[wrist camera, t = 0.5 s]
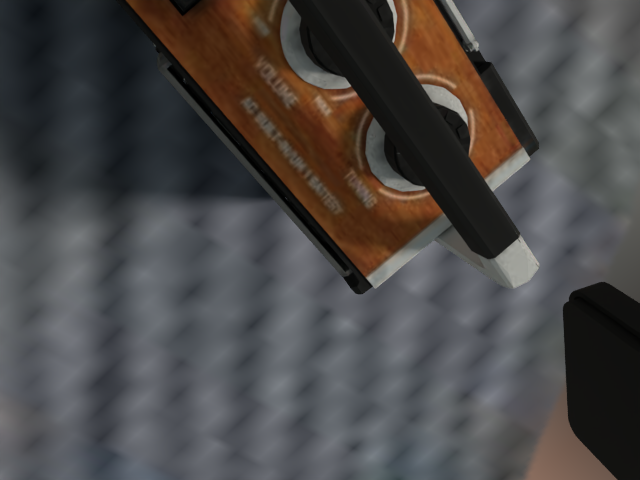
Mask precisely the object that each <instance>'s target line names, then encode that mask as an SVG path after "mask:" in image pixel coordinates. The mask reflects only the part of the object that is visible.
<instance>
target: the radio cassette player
mask: <svg viewBox="0 0 640 480" xmlns="http://www.w3.org/2000/svg"><path fill="white" fill-rule="evenodd" d="M116 1H117V2H118V3H119V4H120V6H121V7H122V8H123V9H124V10H125V11H126V12H127V14H128V15H129V16H130V17H131V18H132V19H133V20H134V22H135V23H136V24H137V25H138V26H139V27H140V28H141V30H142V31H143V32H144V33H145V34H146V35H147V36H148V38H149V39H150V40H151V41H152V42H153V45H154V46H155V47H156V51H157V52H158V53H159V55H158V58H157V65H158V70H159V71H160V72H161V73H162V74H163V75H164V76H165V78H166V79H167V80H168V81H169V82H170V83H171V84H172V85H173V87H174V88H175V89H176V90H177V91H178V92H179V93H180V94H181V96H182V97H183V98H184V99H185V100H186V101H187V102H188V103H189V105H190V106H191V107H192V108H193V109H194V110H195V111H196V112H197V114H198V115H199V116H200V117H201V118H202V119H203V120H204V122H205V123H206V124H207V125H208V126H209V127H210V128H211V129H212V131H213V132H214V133H215V134H216V135H217V136H218V137H219V138H220V140H221V141H222V142H223V143H224V144H225V145H226V146H227V147H228V149H229V150H230V151H231V152H232V153H233V154H234V155H235V156H236V158H237V159H238V160H239V161H240V162H241V163H242V164H243V165H244V167H245V168H246V169H247V170H248V171H249V172H250V173H251V174H252V176H253V177H254V178H255V179H256V180H257V181H258V182H259V183H260V185H261V186H262V187H263V188H264V189H265V190H266V191H267V192H268V194H269V195H270V196H271V197H272V198H273V199H274V200H275V201H276V203H277V204H278V205H279V206H280V207H281V208H282V209H283V211H284V212H285V213H286V214H287V215H288V216H289V217H290V218H291V220H292V221H293V222H294V223H295V224H296V225H297V226H298V227H299V229H300V230H301V231H302V232H303V233H304V234H305V235H306V236H307V238H308V239H309V240H310V241H311V242H312V243H313V244H314V245H315V247H316V248H317V249H318V250H319V251H320V252H321V253H322V254H323V256H324V257H325V258H326V259H327V260H328V261H329V262H330V263H331V265H332V266H333V267H334V268H335V269H336V270H337V271H338V272H339V274H340V275H341V276H342V277H343V278H344V279H345V281H346V282H347V284H348V285H349V286H350V288H351V289H352V290H353V291H354V292H355V293H356V294H363V293H365V292H366V291H367V290H369V289H370V288H371V287H374V288H377V287H378V286H379V285H381V284H382V283H383V282H384V281H385V280H387V279H388V278H389V277H390V276H391V275H393V274H394V273H395V272H396V271H397V270H399V269H400V268H401V267H402V266H403V265H405V264H406V263H407V262H408V261H409V260H411V259H412V258H413V257H414V256H415V255H417V254H418V253H419V252H420V251H421V250H423V249H424V248H425V247H426V246H427V245H429V244H430V243H431V242H432V241H433V240H435V241H436V242H438V243H439V244H441V245H442V246H444V247H445V248H447V249H448V250H449V251H451V252H452V253H454V254H455V255H457V256H458V257H460V258H461V259H463V260H464V261H465V262H467V263H468V264H470V265H471V266H473V267H474V268H476V269H477V270H479V271H480V272H481V273H483V274H484V275H486V276H487V277H489V278H490V279H492V280H493V281H495V282H496V283H498V284H499V285H501V286H503V287H507V288H516V287H518V286H520V285H522V284H524V283H526V282H528V281H529V280H530V279H531V278H532V276H533V275H534V274H535V272H536V271H537V270H538V268H539V263H538V261H537V260H536V258H535V257H534V255H533V254H532V252H531V251H530V249H529V248H528V246H527V245H526V243H525V242H524V240H523V239H522V237H521V236H520V232H519V231H518V229H517V228H516V226H515V225H514V223H513V222H512V220H511V219H510V217H509V216H508V214H507V213H506V211H505V210H504V208H503V207H502V205H501V204H500V202H499V201H498V199H497V198H496V196H495V195H494V193H493V192H492V191H494V190H495V189H496V188H497V187H498V186H500V185H501V184H502V183H503V182H504V181H506V180H507V179H508V178H509V177H510V176H512V175H513V174H514V173H515V172H516V171H518V170H519V169H520V168H521V167H522V166H524V165H525V164H526V163H527V162H528V161H529V160H530V158H529V156H531V155H532V154H533V153H534V152H535V151H537V150H538V149H539V142H538V140H537V139H536V137H535V135H534V134H533V132H532V130H531V128H530V127H529V125H528V123H527V122H526V120H525V118H524V117H523V115H522V113H521V112H520V110H519V108H518V106H517V105H516V103H515V101H514V100H513V98H512V96H511V95H510V93H509V91H508V90H507V88H506V86H505V84H504V83H503V81H502V79H501V78H500V76H499V74H498V73H497V71H496V69H495V68H494V66H493V64H492V63H491V62H486V61H485V60H484V58H483V56H482V55H481V53H480V51H479V49H478V48H477V47H478V46H479V45H478V42H477V41H476V40H475V38H474V36H473V34H472V32H471V31H470V29H469V27H468V26H467V24H466V22H465V21H464V19H463V17H462V16H461V14H460V12H459V11H458V9H457V7H456V6H455V4H454V2H453V0H116ZM183 79H184V80H185V82H186V84H185V83H184V82H183ZM210 111H212V113H213V115H214V116H213V115H212V114H211V112H210ZM237 142H238V143H239V144H238V143H237ZM239 145H240V146H239ZM261 170H262V171H263V172H264V173H263V172H262V171H261ZM285 197H286V198H285ZM287 200H288V201H287Z"/></svg>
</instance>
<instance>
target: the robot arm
mask: <svg viewBox="0 0 640 480" xmlns="http://www.w3.org/2000/svg"><path fill="white" fill-rule="evenodd" d="M563 322H564V343H565V364H566V384H567V405H568V419H569V423H570V426H571V428H572V430H573V432H574V434H575V435H576V436H577V438H578V439H579V440H580V441H581V442H582V443H583V444H584V445H585V446H586V447H587V448H588V449H589V450H590V451H591V452H592V453H593V455H594V456H595V457H596V458H597V459H598V460H599V461H600V462H601V463H602V464H603V465H604V466H605V467H606V468H607V469H608V470H609V471H610V472H611V473H612V474H613V475H614V477H615V478H616V479H617V480H640V303H638V302H637V301H635V300H634V299H632V298H630V297H629V296H627V295H626V294H624V293H623V292H621V291H619V290H618V289H616V288H615V287H613V286H612V285H610V284H608V283H606V282H599V283H596V284H593V285H590V286H588V287H585V288H582V289H579V290H576V291H573V292H572V293H571V294H570V297H569V302H566V303H565V304H564V306H563Z"/></svg>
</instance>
